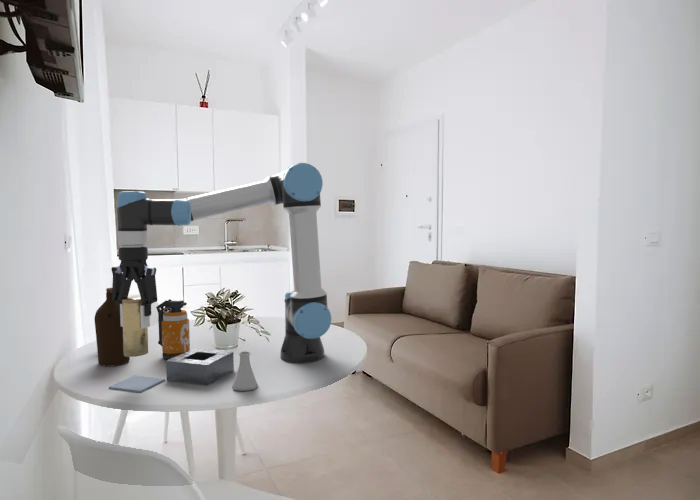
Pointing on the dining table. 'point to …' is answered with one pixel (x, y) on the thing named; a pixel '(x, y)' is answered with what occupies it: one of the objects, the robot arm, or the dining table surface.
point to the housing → (200, 366)
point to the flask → (244, 374)
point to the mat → (137, 383)
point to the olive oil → (109, 333)
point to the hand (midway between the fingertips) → (135, 326)
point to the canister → (173, 328)
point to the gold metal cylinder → (133, 328)
